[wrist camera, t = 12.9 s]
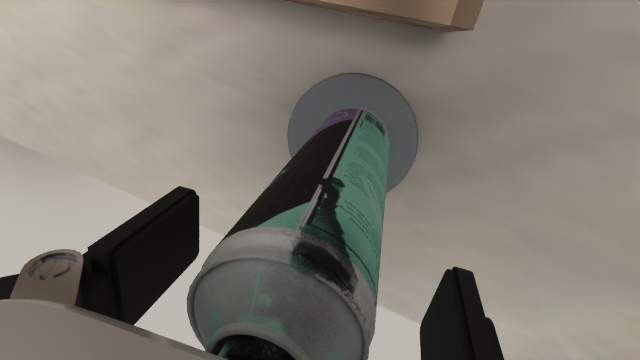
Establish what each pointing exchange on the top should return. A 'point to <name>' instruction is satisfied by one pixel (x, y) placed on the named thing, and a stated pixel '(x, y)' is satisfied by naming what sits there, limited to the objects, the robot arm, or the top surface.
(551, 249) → the top surface
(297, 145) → the mat
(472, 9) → the wooden box
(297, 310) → the spray can
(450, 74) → the top surface
